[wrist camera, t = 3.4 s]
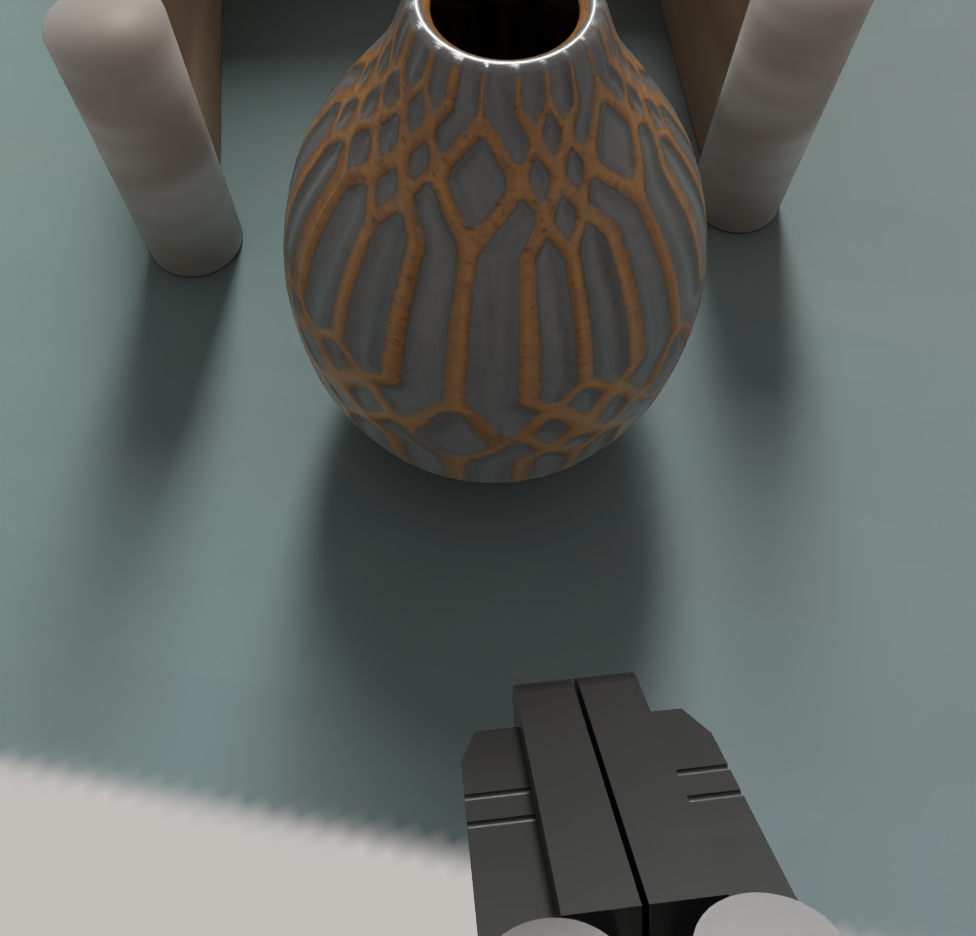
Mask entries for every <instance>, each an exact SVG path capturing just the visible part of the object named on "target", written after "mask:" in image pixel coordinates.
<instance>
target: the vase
mask: <svg viewBox="0 0 976 936" xmlns="http://www.w3.org/2000/svg"><path fill="white" fill-rule="evenodd" d="M283 248H284V267H285V278H286V285H287V291H288V295H289V299H290V304H291V308H292V312H293V316H294V320H295V322H296V325H297V328H298V331H299V334H300V337H301V339H302V342H303V345H304V347H305V350H306V352H307V354H308V356H309V358H310V360H311V362H312V364H313V366H314V368H315V370H316V372H317V374H318V376H319V378H320V380H321V382H322V384H323V385H324V387H325V388H326V390H327V391H328V393H329V394H330V396H331V397H332V398H333V400H334V401H335V402H336V403H337V404H338V406H339V407H340V408H341V409H342V410H343V412H344V413H345V414H346V415H347V416H348V417H349V419H350V420H351V421H352V422H353V423H354V424H355V425H356V426H357V427H358V428H359V429H360V430H361V431H363V432H364V433H365V434H366V435H367V436H368V437H369V438H371V439H372V440H373V441H375V442H376V443H378V444H379V445H380V446H382V447H383V448H384V449H386V450H387V451H388V452H390V453H392V454H393V455H395V456H396V457H398V458H400V459H401V460H403V461H405V462H407V463H409V464H411V465H413V466H416V467H418V468H420V469H423V470H425V471H428V472H431V473H434V474H437V475H440V476H444V477H448V478H452V479H457V480H463V481H469V482H479V483H509V482H518V481H525V480H530V479H536V478H539V477H543V476H547V475H551V474H553V473H556V472H559V471H562V470H564V469H567V468H569V467H571V466H574V465H576V464H578V463H580V462H582V461H583V460H585V459H587V458H589V457H590V456H592V455H594V454H595V453H597V452H598V451H600V450H602V449H603V448H605V447H606V446H608V445H609V444H610V443H612V442H613V441H614V440H616V439H617V438H618V437H619V436H620V435H622V434H623V433H624V432H625V431H626V430H627V429H628V428H629V427H630V426H631V425H632V424H633V423H634V422H635V421H636V420H637V419H638V418H639V417H640V416H641V415H642V414H643V413H644V412H645V411H646V410H647V409H648V407H649V406H650V405H651V404H652V402H653V401H654V400H655V399H656V397H657V396H658V394H659V393H660V391H661V390H662V388H663V387H664V385H665V383H666V382H667V380H668V378H669V377H670V375H671V373H672V372H673V370H674V368H675V366H676V364H677V362H678V360H679V358H680V356H681V354H682V352H683V349H684V347H685V345H686V343H687V340H688V338H689V336H690V333H691V330H692V327H693V324H694V321H695V318H696V315H697V312H698V308H699V305H700V301H701V297H702V292H703V286H704V279H705V272H706V263H707V222H706V210H705V200H704V194H703V188H702V183H701V177H700V172H699V169H698V165H697V162H696V158H695V155H694V152H693V149H692V146H691V143H690V141H689V138H688V136H687V134H686V131H685V129H684V127H683V125H682V123H681V122H680V120H679V118H678V116H677V114H676V112H675V110H674V109H673V107H672V105H671V104H670V102H669V101H668V99H667V98H666V96H665V95H664V94H663V92H662V91H661V89H660V88H659V87H658V85H657V84H656V83H655V81H654V80H653V79H652V77H651V76H650V75H649V74H648V72H647V71H646V70H645V69H644V67H643V66H642V65H641V64H640V62H639V61H638V60H637V59H636V58H635V56H634V55H633V54H632V53H631V52H630V51H629V49H628V48H627V47H626V46H625V45H624V44H623V42H622V41H621V40H620V39H619V37H618V35H617V32H616V30H615V27H614V24H613V21H612V18H611V14H610V11H609V8H608V5H607V2H606V0H401V2H400V4H399V7H398V9H397V12H396V14H395V17H394V19H393V21H392V23H391V25H390V27H389V28H388V30H387V31H386V32H385V33H384V34H383V35H382V36H381V37H380V38H379V39H378V40H377V41H376V42H375V43H374V44H373V45H372V46H371V47H370V48H369V49H368V50H367V51H366V52H365V53H364V54H363V55H362V56H361V57H360V58H359V60H358V61H357V62H356V63H355V64H354V65H353V66H352V67H351V68H350V69H349V70H348V71H347V73H346V74H345V75H344V76H343V77H342V79H341V80H340V81H339V82H338V83H337V85H336V86H335V87H334V88H333V89H332V91H331V92H330V93H329V95H328V96H327V98H326V99H325V101H324V102H323V104H322V106H321V107H320V109H319V110H318V112H317V114H316V115H315V117H314V119H313V121H312V122H311V125H310V127H309V129H308V131H307V133H306V136H305V138H304V141H303V143H302V146H301V148H300V151H299V154H298V157H297V160H296V164H295V167H294V171H293V175H292V179H291V183H290V188H289V194H288V200H287V207H286V213H285V226H284V243H283Z"/></svg>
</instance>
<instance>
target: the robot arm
mask: <svg viewBox="0 0 976 936" xmlns="http://www.w3.org/2000/svg"><path fill="white" fill-rule="evenodd" d="M513 708H514V723H515V728H506V729H497V730H488V731H479V732H476V733H475V735H474V737H473V739H472V741H471V743H470V745H469V747H468V749H467V751H466V753H465V755H464V757H463V759H462V761H461V764H462V774H463V785H464V796H465V806H466V817H467V828H468V838H469V849H470V860H471V870H472V880H473V891H474V901H475V911H476V921H477V932H478V936H843V935H842V934H841V932H840V931H839V930H838V929H837V928H836V927H835V926H834V925H833V924H832V923H831V922H830V921H829V920H828V919H827V918H826V917H824V916H823V915H822V914H820V913H819V912H818V911H816V910H814V909H813V908H811V907H809V906H807V905H806V904H804V903H801V902H799V901H798V900H797V898H796V897H795V895H794V893H793V891H792V889H791V887H790V885H789V883H788V881H787V879H786V877H785V876H784V874H783V872H782V870H781V868H780V866H779V864H778V862H777V860H776V858H775V856H774V854H773V852H772V850H771V848H770V846H769V844H768V842H767V840H766V838H765V837H764V835H763V833H762V831H761V829H760V827H759V825H758V823H757V821H756V819H755V817H754V815H753V813H752V811H751V809H750V807H749V805H748V803H747V801H746V799H745V798H744V796H741V792H740V788H739V786H738V784H737V782H736V780H735V778H734V776H733V774H732V772H731V770H728V767H727V762H726V760H725V759H724V757H723V755H722V753H721V751H720V749H719V747H718V745H717V743H716V741H715V739H714V737H713V735H712V733H711V732H710V731H708V730H707V729H706V728H705V727H703V726H702V725H701V724H700V723H698V722H697V721H696V720H695V719H693V718H692V717H691V716H690V715H689V714H687V713H686V712H685V711H684V710H682V709H673V710H664V711H655V712H651V711H650V709H649V706H648V704H647V702H646V699H645V697H644V695H643V692H642V690H641V688H640V685H639V683H638V681H637V679H636V676H635V675H634V673H632V672H630V673H621V674H612V675H603V676H594V677H585V678H576V679H574V682H573V683H572V681H571V679H569V680H559V681H550V682H541V683H532V684H523V685H514V686H513Z"/></svg>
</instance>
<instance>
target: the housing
mask: <svg viewBox="0 0 976 936" xmlns="http://www.w3.org/2000/svg"><path fill="white" fill-rule="evenodd" d="M873 1H874V0H660V4H661V8H662V11H663V15H664V19H665V23H666V26H667V30H668V34H669V38H670V41H671V45H672V49H673V52H674V56H675V60H676V64H677V67H678V71H679V75H680V79H681V82H682V86H683V90H684V94H685V97H686V101H687V105H688V109H689V112H690V116H691V120H692V124H693V127H694V131H695V135H696V138H697V142H698V146H699V150H700V153H701V157H700V160H699V163H698V169H699V172H700V177H701V183H702V188H703V194H704V200H705V210H706V222H707V223H709V224H710V225H712V226H714V227H716V228H718V229H721V230H724V231H728V232H734V233H746V232H752V231H756V230H758V229H761V228H762V227H764V226H766V225H767V224H768V223H769V222H770V221H771V220H772V219H773V218H774V217H775V215H776V213H777V211H778V208H779V206H780V204H781V202H782V200H783V197H784V195H785V193H786V191H787V189H788V187H789V184H790V182H791V180H792V178H793V176H794V173H795V171H796V169H797V167H798V165H799V163H800V160H801V158H802V156H803V154H804V152H805V149H806V147H807V145H808V143H809V141H810V139H811V136H812V134H813V132H814V130H815V128H816V125H817V123H818V121H819V119H820V117H821V115H822V112H823V110H824V108H825V106H826V104H827V101H828V99H829V97H830V95H831V93H832V91H833V88H834V86H835V84H836V82H837V80H838V77H839V75H840V73H841V71H842V69H843V67H844V64H845V62H846V60H847V58H848V56H849V53H850V51H851V49H852V47H853V45H854V42H855V40H856V38H857V36H858V34H859V32H860V29H861V27H862V25H863V23H864V21H865V18H866V16H867V14H868V12H869V10H870V8H871V5H872V3H873ZM221 30H222V0H58V1H57V2H56V3H55V4H54V5H53V6H52V7H51V9H50V10H49V11H48V13H47V15H46V16H45V19H44V21H43V26H42V37H43V40H44V43H45V45H46V47H47V49H48V51H49V53H50V55H51V57H52V59H53V61H54V63H55V65H56V67H57V69H58V71H59V73H60V75H61V77H62V79H63V81H64V83H65V85H66V87H67V89H68V91H69V93H70V95H71V97H72V99H73V101H74V103H75V105H76V107H77V109H78V110H79V112H80V114H81V116H82V118H83V120H84V122H85V124H86V126H87V128H88V130H89V132H90V134H91V136H92V138H93V140H94V142H95V144H96V146H97V148H98V150H99V152H100V154H101V156H102V158H103V160H104V162H105V164H106V166H107V168H108V170H109V172H110V174H111V176H112V178H113V180H114V182H115V184H116V185H117V187H118V189H119V191H120V193H121V195H122V197H123V199H124V201H125V203H126V205H127V207H128V209H129V211H130V213H131V215H132V217H133V219H134V221H135V223H136V225H137V227H138V229H139V231H140V233H141V235H142V237H143V239H144V241H145V243H146V245H147V247H148V249H149V251H150V253H151V255H152V257H153V258H154V260H155V261H156V262H157V264H158V265H159V266H161V267H162V268H163V269H165V270H166V271H168V272H170V273H173V274H176V275H180V276H187V277H195V276H202V275H206V274H210V273H213V272H215V271H217V270H219V269H221V268H222V267H224V266H225V265H227V264H228V263H229V262H230V261H231V260H232V259H233V258H234V257H235V255H236V254H237V252H238V251H239V249H240V246H241V243H242V236H243V234H242V228H241V224H240V222H239V219H238V216H237V213H236V210H235V207H234V204H233V201H232V199H231V196H230V193H229V190H228V187H227V184H226V181H225V179H224V176H223V173H222V170H221V167H220V130H221Z"/></svg>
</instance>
